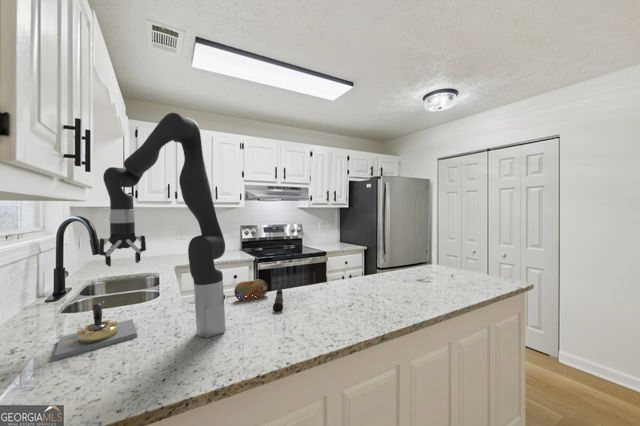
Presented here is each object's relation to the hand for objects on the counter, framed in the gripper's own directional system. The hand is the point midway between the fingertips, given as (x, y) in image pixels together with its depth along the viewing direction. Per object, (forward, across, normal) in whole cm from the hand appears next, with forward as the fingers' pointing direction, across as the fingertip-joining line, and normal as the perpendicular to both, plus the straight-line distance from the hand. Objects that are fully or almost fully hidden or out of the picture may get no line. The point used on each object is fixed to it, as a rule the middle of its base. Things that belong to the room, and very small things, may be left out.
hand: (123, 264), depth 102 cm
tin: (+21, +46, -13) cm, 53 cm away
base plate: (+23, -8, -9) cm, 26 cm away
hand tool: (+21, +50, -29) cm, 61 cm away
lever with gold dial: (+21, -8, -8) cm, 24 cm away
